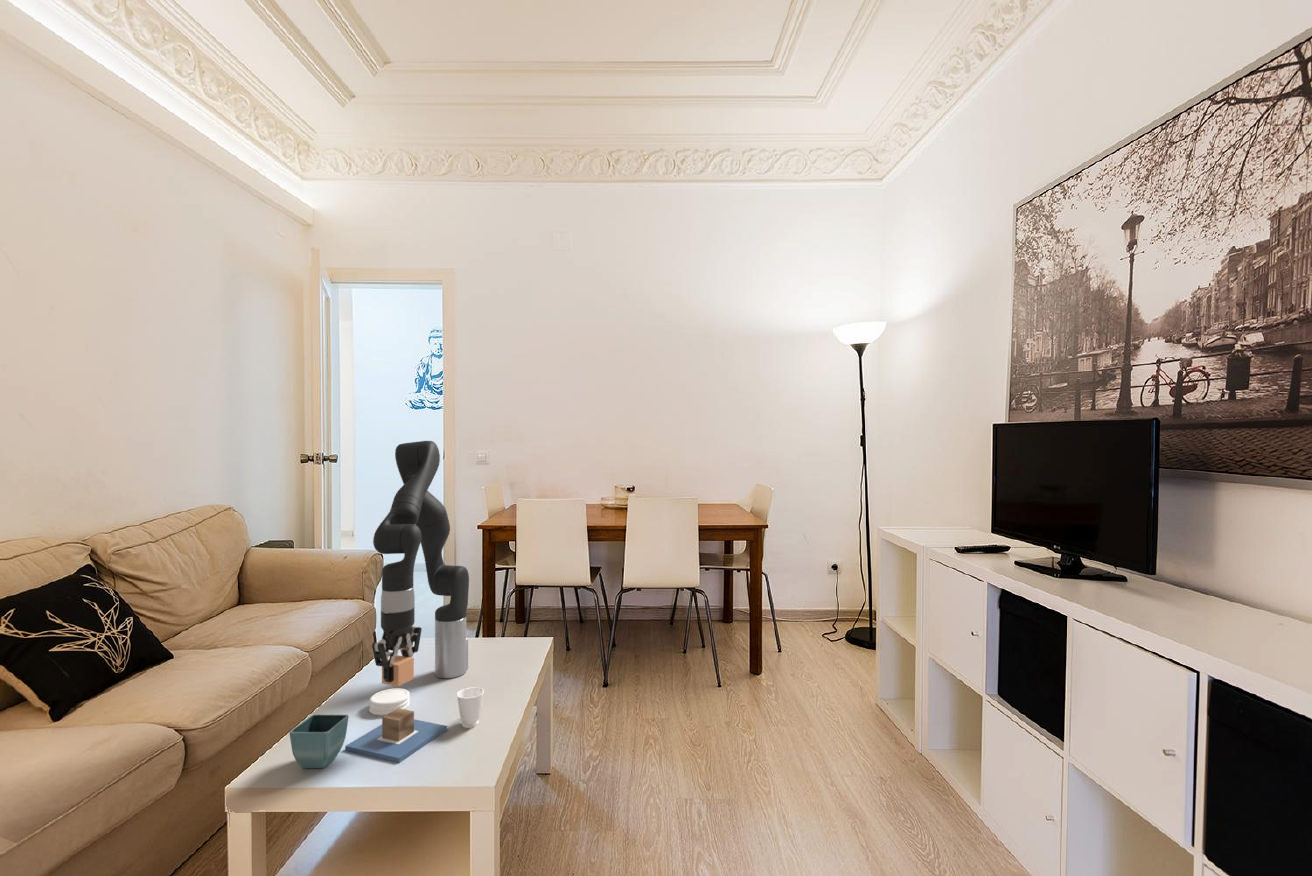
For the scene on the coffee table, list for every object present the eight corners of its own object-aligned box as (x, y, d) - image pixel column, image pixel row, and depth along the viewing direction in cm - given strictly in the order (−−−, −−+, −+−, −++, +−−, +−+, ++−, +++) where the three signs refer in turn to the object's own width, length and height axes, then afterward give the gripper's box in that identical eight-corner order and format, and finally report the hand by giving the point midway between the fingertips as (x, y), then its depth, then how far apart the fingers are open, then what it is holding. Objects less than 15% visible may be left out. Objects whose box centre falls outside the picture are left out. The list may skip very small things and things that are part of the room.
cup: (451, 730, 149) (451, 698, 149) (465, 712, 159) (465, 682, 159) (480, 730, 149) (480, 698, 149) (491, 712, 159) (491, 682, 159)
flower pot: (312, 752, 139) (312, 713, 139) (349, 752, 138) (349, 714, 138) (288, 773, 130) (288, 732, 130) (327, 774, 130) (327, 732, 130)
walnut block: (397, 728, 148) (397, 708, 148) (413, 731, 146) (413, 711, 146) (382, 738, 143) (382, 717, 143) (398, 741, 141) (398, 720, 141)
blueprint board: (396, 719, 155) (396, 715, 155) (447, 730, 149) (447, 725, 149) (345, 750, 140) (345, 745, 140) (399, 762, 134) (399, 758, 134)
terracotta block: (397, 675, 148) (397, 655, 148) (413, 678, 146) (413, 658, 146) (381, 683, 143) (381, 662, 143) (398, 686, 141) (398, 665, 141)
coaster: (393, 718, 156) (393, 705, 156) (360, 714, 158) (360, 701, 158) (417, 702, 165) (417, 689, 165) (386, 698, 168) (386, 686, 168)
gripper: (407, 598, 152) (407, 664, 152) (362, 613, 139) (361, 686, 139) (430, 600, 150) (430, 668, 150) (387, 616, 136) (387, 691, 136)
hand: (397, 676), depth 144 cm, fingers closed on terracotta block, 5 cm apart
